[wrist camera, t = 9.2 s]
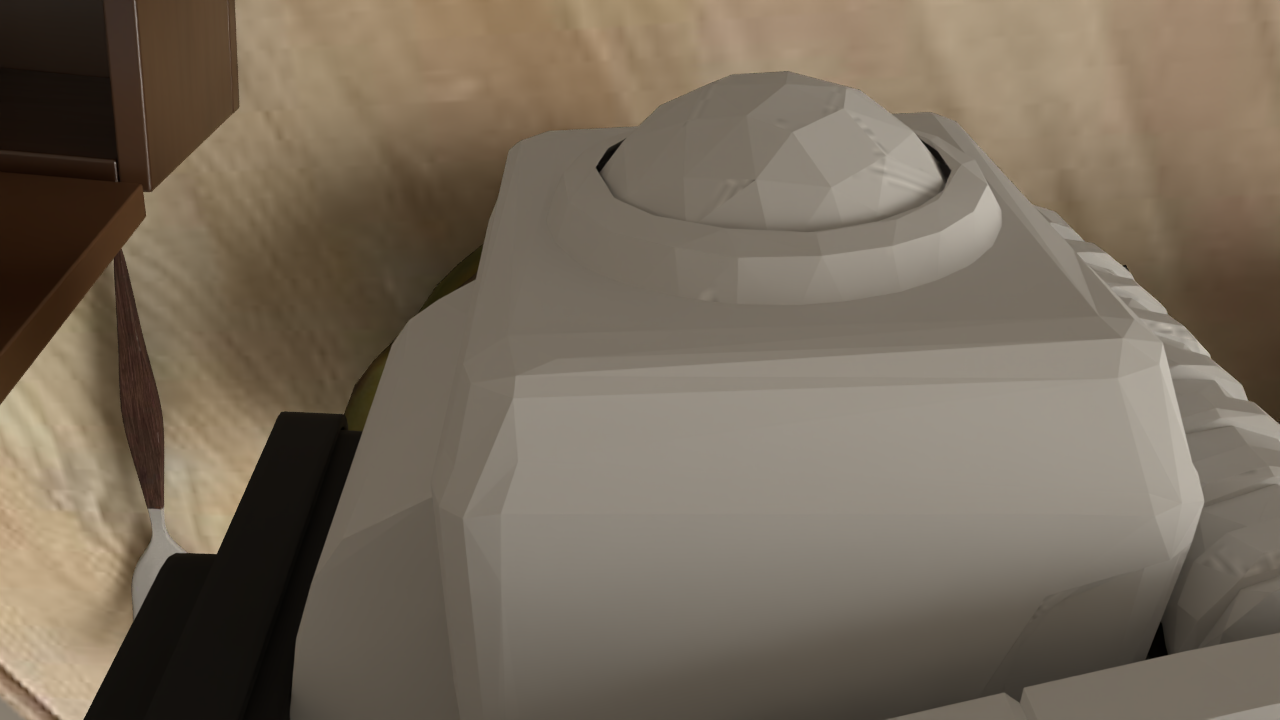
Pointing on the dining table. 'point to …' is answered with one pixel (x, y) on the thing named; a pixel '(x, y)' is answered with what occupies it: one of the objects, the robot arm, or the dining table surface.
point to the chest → (113, 85)
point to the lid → (54, 255)
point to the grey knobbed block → (795, 450)
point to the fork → (141, 431)
